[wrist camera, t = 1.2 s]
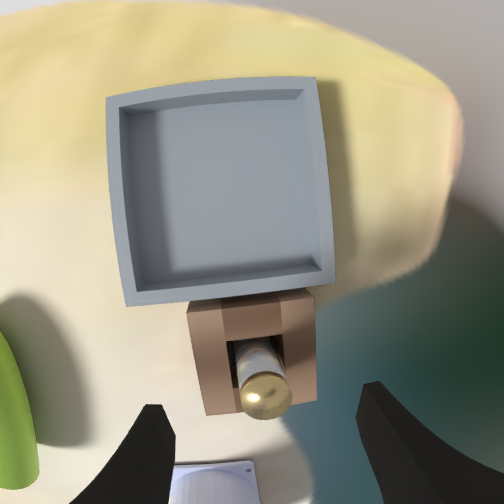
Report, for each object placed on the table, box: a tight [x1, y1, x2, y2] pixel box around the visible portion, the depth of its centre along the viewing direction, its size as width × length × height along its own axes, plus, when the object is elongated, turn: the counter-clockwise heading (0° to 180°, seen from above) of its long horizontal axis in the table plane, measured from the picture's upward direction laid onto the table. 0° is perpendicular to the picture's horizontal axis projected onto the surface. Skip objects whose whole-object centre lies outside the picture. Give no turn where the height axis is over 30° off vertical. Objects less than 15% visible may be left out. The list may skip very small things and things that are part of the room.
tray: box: [106, 77, 336, 307], centre depth 18 cm, size 12×12×2 cm
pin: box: [233, 336, 292, 420], centre depth 17 cm, size 2×2×7 cm
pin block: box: [186, 287, 317, 416], centre depth 19 cm, size 7×7×3 cm
